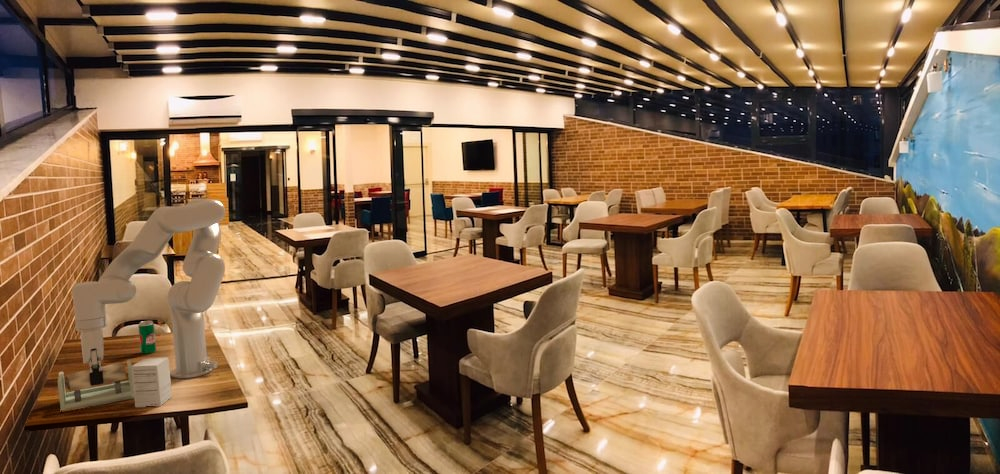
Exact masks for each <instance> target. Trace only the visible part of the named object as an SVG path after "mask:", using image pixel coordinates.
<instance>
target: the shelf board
mask: <svg viewBox="0 0 1000 474" xmlns="http://www.w3.org/2000/svg"><path fill="white" fill-rule="evenodd" d="M101 370H102V371H103V381H104V383H103V384H99V385H94V386H91V385H90V375H89V373H90V369H89V368H88V369H85V370H81V371H76V372H72V373H67V374H64V377H65V383H66V384H65V386H66V389H67V390H68V392H73V391H77V390H83V389H88V388H94V387H98V386H102V385H107V384H109V383H110V384H111V383H113V382H114V383H115V381H118V380H120V381H122V380H126V379H127V373H126V365H124V364H123V363H122V362H116V363H112V364H107V365H104V366H103V365H102V367H101Z"/></svg>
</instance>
